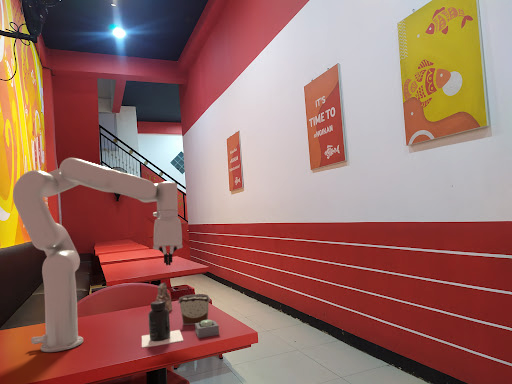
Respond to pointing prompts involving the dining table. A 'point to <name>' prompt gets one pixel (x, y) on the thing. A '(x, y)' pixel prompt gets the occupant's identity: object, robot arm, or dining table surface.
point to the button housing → (207, 330)
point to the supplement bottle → (159, 321)
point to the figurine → (164, 296)
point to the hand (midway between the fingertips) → (168, 264)
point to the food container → (194, 308)
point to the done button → (206, 323)
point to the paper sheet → (174, 337)
